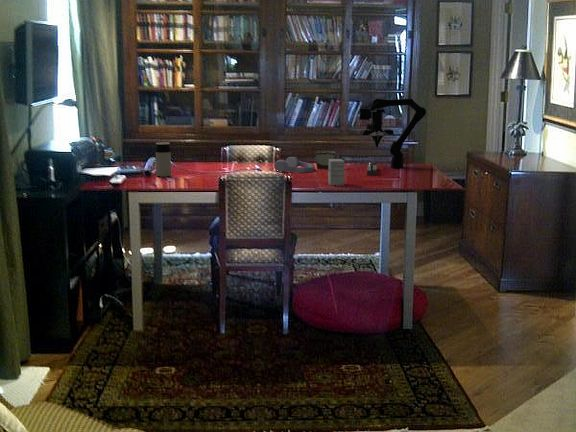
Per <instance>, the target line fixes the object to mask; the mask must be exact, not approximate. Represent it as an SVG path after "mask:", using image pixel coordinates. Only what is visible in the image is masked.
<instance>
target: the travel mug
mask: <svg viewBox="0 0 576 432" xmlns="http://www.w3.org/2000/svg"><path fill="white" fill-rule="evenodd" d="M155 145H156V147H155V170H156V172H155V175H156V177H158V176H160V177H161V178H168V177H167V176H169V177H171V176H172V155H171V153H172V152H171V147H170V145H171V143H170V142H167V141H165V142H164V141H162V142H156V143H155ZM160 177H159V178H160Z"/></svg>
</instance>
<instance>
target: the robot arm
mask: <svg viewBox="0 0 576 432" xmlns="http://www.w3.org/2000/svg"><path fill="white" fill-rule="evenodd" d="M397 106H410V108H412V109H413V110H414V112H413V114H412V117H411V119H410V121H409V122H408V124H407V125H406V127H405V128H404V129H403V131H402V132H401V134H400V135H399V137H398V138H397V139H396V140H395V139H393V140H392V141H391V144H389V150H388V151H389V152H390V154H391V155H392V157H391V160H390V166H389V167H390V169H391V168H393V169H405V168H406V167H405V166H404V164H405V163H404V162H405V161H404V160H405V159H404V158H405V157H404V153H403V152H402V151H401V150H402V147H403V145H404V143H405V141H406V140H407V138H408V137H409V136H410V134H411V133H412V131H413V130H414V128H415V127H416V125H417V124H418V123H419V122H420V121H421V120H422V119H423V118H424V117H425V116H426V115H427V110H426V108H425V107H424V106H420V105H419V104H417V102H415V100H414V99H413V98H412V97H410V98H409V97H408V98H395V99H394V98H392V99H388V98H379V97H378V98H374V99H373V100H372V105H371V106H369V108H363V107H362V108H360V109H359V121H370V119H371V124H370V123H366V125H365V129H361V130H360V131H359V134H360V135H361V136H369V137H371V138H372V140H373V143H374V146H375V148H378V147H379V144H380V142H381V140H382V138H383V137H385V135H388V136H393V135H394V130H393V129H391V128H389V129H388V128H386V129H384V130H383V113H386V110H385V109H384V108H387V107H397ZM384 134H385V135H384Z"/></svg>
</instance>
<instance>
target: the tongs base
mask: <svg viewBox="0 0 576 432" xmlns="http://www.w3.org/2000/svg"><path fill="white" fill-rule="evenodd" d="M373 165H376V166H377V162H375V161H373V162H372V161H369V162H367V170H366V176H372V170H373Z"/></svg>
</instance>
